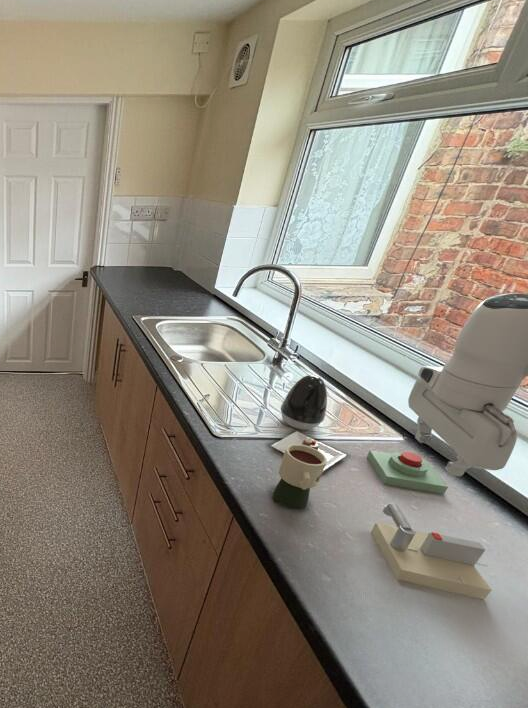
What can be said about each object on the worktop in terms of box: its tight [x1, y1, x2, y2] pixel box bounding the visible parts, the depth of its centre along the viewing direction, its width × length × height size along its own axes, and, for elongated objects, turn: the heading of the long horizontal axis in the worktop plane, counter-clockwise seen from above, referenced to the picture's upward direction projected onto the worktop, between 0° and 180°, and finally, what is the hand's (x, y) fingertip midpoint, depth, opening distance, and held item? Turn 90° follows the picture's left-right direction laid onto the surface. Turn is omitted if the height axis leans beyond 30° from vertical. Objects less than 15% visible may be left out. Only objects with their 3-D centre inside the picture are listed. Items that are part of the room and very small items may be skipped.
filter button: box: [399, 451, 423, 467], centre depth 95 cm, size 4×4×2 cm
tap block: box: [371, 522, 492, 600], centre depth 74 cm, size 14×11×4 cm
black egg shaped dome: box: [280, 374, 328, 431], centre depth 112 cm, size 10×10×15 cm
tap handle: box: [420, 531, 486, 567], centre depth 72 cm, size 7×2×4 cm, turn 71°
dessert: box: [270, 430, 347, 471], centre depth 103 cm, size 12×12×5 cm
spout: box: [382, 503, 417, 551], centre depth 77 cm, size 2×8×5 cm, turn 161°
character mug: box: [272, 444, 327, 510], centre depth 87 cm, size 11×7×13 cm, turn 157°
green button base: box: [366, 449, 449, 495], centre depth 96 cm, size 11×10×4 cm
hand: (436, 456), depth 75 cm, fingers open, 8 cm apart
